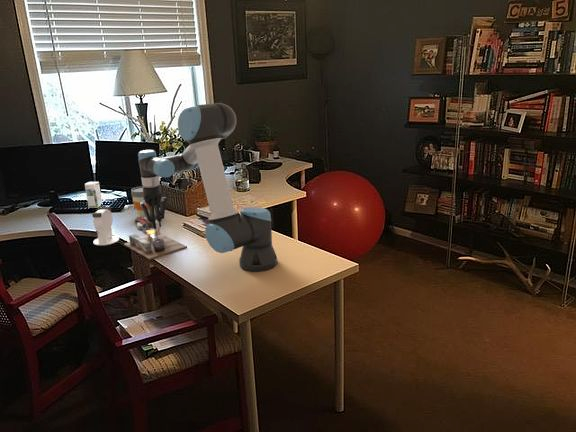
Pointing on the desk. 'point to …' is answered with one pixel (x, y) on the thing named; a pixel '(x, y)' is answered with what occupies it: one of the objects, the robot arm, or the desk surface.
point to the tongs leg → (156, 241)
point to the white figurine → (104, 227)
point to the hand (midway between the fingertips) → (157, 234)
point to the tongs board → (152, 246)
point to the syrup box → (93, 194)
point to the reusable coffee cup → (139, 200)
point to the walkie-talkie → (143, 223)
